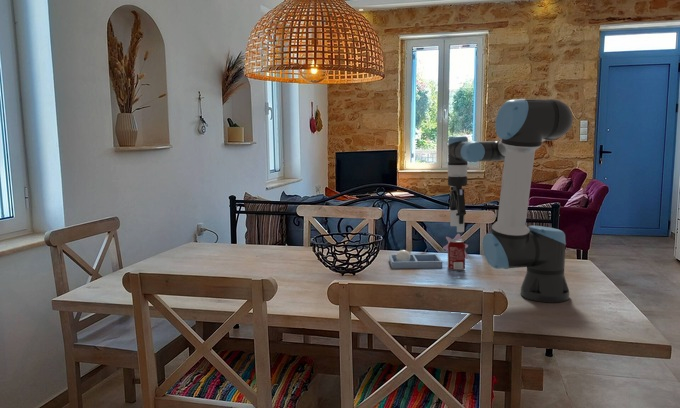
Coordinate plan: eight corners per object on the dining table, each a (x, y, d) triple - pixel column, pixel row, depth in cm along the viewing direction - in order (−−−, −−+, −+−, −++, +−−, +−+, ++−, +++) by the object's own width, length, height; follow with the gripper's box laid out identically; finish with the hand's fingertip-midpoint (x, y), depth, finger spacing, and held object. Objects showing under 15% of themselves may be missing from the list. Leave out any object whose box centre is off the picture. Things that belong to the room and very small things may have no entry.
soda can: (465, 272, 207) (465, 242, 206) (447, 271, 209) (447, 241, 207) (464, 267, 214) (465, 238, 212) (447, 267, 215) (447, 238, 214)
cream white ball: (411, 265, 217) (411, 251, 216) (396, 265, 217) (396, 251, 216) (409, 262, 223) (409, 248, 222) (395, 262, 223) (395, 248, 222)
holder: (442, 268, 213) (442, 261, 213) (392, 269, 213) (391, 262, 213) (436, 260, 226) (436, 254, 226) (389, 261, 227) (389, 254, 226)
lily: (438, 261, 231) (445, 244, 226) (438, 245, 241) (445, 229, 236) (464, 269, 231) (472, 252, 225) (463, 253, 240) (471, 237, 235)
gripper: (474, 178, 194) (473, 234, 197) (460, 173, 219) (459, 223, 222) (454, 178, 194) (453, 234, 197) (442, 173, 219) (442, 223, 222)
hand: (456, 229), depth 209 cm, fingers open, 13 cm apart
